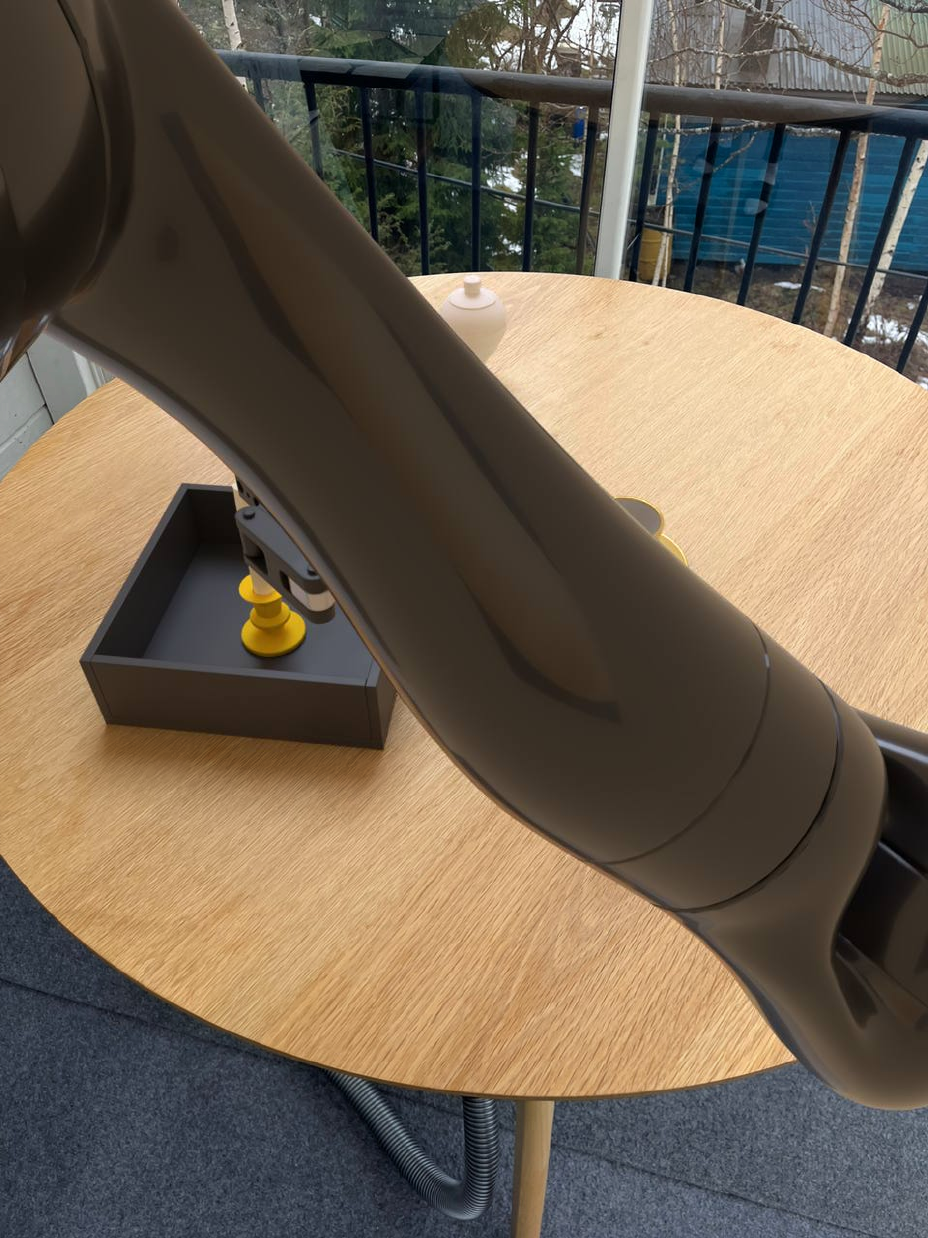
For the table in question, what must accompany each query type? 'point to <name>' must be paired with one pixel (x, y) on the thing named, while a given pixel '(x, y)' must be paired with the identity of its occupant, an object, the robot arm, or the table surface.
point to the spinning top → (476, 317)
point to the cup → (650, 521)
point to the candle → (267, 614)
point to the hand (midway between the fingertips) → (322, 433)
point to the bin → (225, 646)
